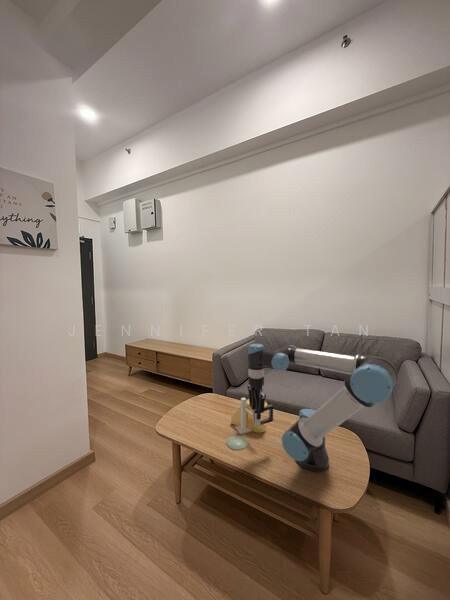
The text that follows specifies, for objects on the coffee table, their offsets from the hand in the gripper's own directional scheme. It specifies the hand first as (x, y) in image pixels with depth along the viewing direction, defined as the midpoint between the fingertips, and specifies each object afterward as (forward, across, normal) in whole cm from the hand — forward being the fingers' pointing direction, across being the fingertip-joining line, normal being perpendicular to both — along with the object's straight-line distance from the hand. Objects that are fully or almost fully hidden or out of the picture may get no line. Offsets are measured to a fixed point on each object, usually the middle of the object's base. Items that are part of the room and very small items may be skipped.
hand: (256, 423), depth 120 cm
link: (+1, 0, -4) cm, 4 cm away
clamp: (+15, +22, -9) cm, 28 cm away
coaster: (+15, +11, +5) cm, 19 cm away
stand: (+15, +14, -4) cm, 21 cm away
